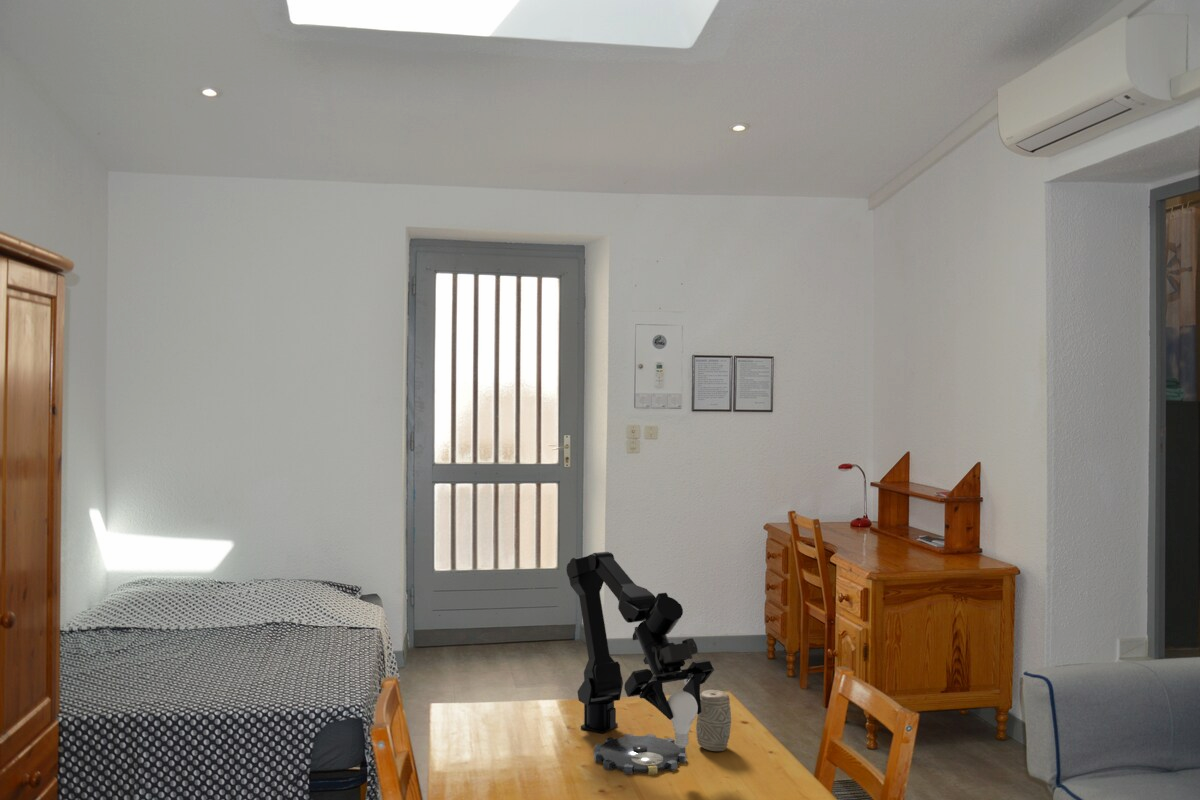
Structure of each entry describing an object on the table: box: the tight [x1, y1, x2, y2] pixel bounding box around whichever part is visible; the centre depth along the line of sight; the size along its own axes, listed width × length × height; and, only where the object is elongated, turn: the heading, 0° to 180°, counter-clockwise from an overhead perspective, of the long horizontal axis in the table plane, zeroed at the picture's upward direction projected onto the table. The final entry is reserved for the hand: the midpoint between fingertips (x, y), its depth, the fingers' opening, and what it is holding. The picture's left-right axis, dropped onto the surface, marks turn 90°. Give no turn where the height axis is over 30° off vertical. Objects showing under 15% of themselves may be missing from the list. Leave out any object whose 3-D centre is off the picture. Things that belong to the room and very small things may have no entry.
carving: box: [695, 689, 732, 752], centre depth 211 cm, size 6×8×12 cm
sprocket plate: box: [593, 733, 687, 776], centre depth 206 cm, size 19×19×2 cm
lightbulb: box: [667, 690, 698, 748], centre depth 194 cm, size 6×6×11 cm
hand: (685, 715), depth 193 cm, fingers closed on lightbulb, 6 cm apart
